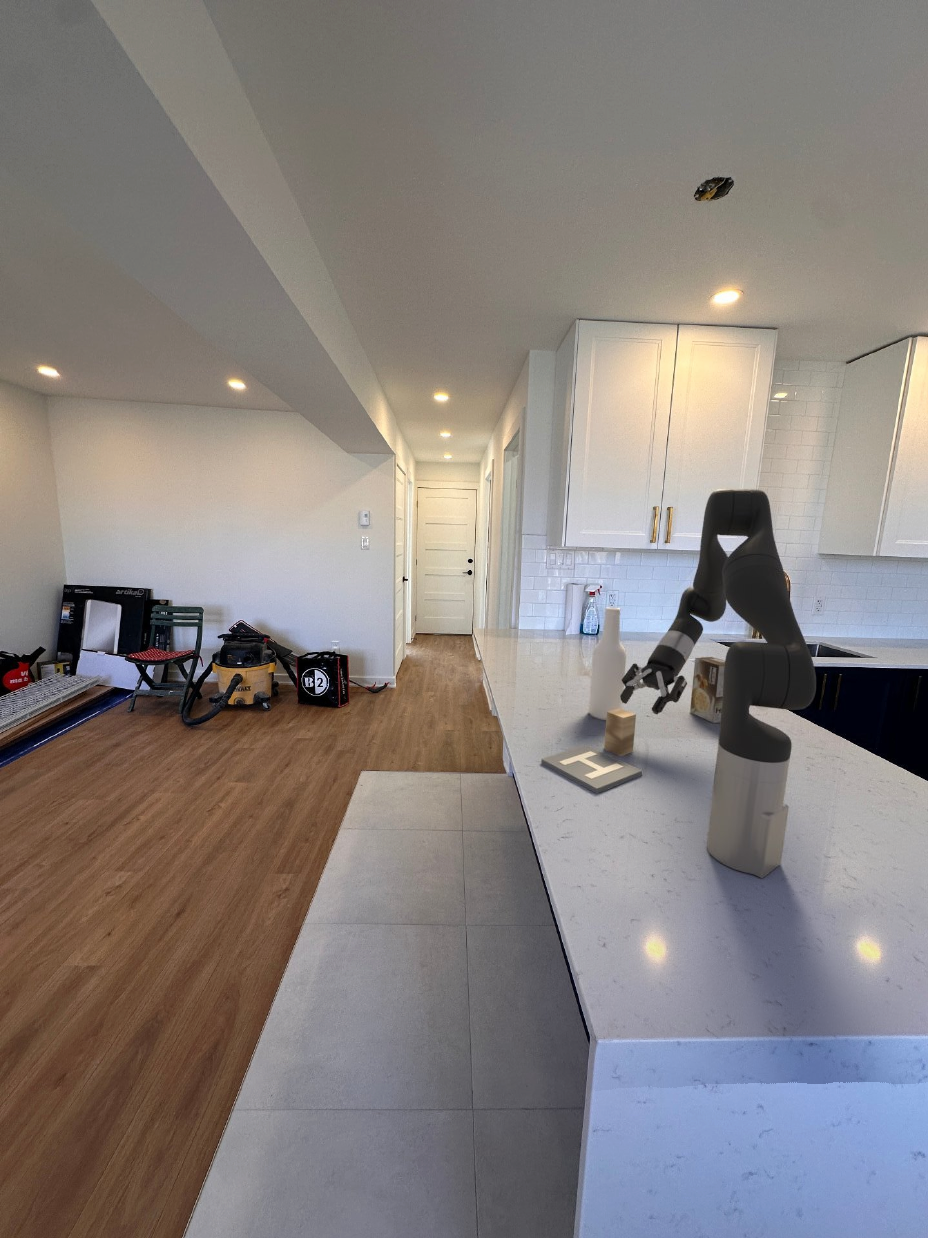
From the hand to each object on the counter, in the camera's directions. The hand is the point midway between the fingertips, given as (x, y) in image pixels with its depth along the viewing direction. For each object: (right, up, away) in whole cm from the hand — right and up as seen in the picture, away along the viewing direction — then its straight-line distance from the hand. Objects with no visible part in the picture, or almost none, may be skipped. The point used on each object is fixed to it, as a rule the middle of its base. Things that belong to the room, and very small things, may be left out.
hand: (638, 706), depth 115 cm
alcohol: (-2, -6, +21) cm, 22 cm away
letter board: (-14, -11, -12) cm, 21 cm away
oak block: (-5, -10, -2) cm, 11 cm away
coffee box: (+28, -7, +22) cm, 36 cm away
